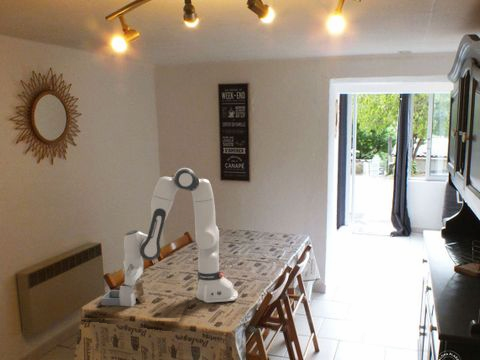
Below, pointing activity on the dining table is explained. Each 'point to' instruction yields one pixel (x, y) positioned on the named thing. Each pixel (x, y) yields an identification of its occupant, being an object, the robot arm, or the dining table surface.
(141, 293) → the scraper
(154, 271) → the dining table surface
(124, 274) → the syrup box
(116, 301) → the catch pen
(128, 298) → the white rectangular block
